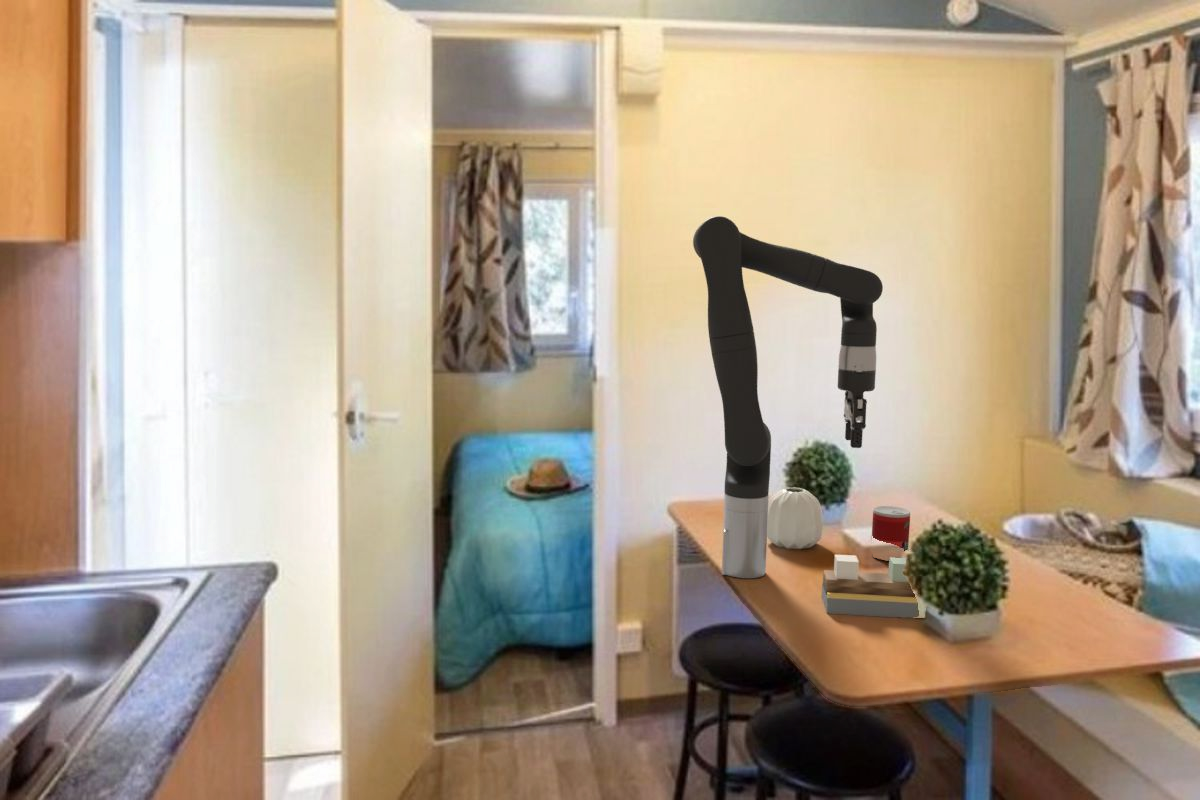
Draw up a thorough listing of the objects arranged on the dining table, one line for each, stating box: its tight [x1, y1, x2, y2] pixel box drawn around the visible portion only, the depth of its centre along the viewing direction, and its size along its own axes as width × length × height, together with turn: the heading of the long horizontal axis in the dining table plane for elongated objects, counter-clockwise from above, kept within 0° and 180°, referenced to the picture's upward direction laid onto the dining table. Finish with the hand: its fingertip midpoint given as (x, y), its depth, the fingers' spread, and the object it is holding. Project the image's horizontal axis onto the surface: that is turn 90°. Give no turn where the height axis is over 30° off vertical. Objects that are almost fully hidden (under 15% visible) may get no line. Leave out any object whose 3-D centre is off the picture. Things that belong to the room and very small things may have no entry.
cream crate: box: [833, 554, 860, 580], centre depth 171 cm, size 4×4×4 cm
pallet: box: [822, 569, 915, 597], centre depth 171 cm, size 18×6×3 cm, turn 82°
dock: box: [821, 581, 919, 619], centre depth 171 cm, size 18×9×4 cm, turn 82°
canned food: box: [871, 505, 911, 551], centre depth 202 cm, size 8×8×11 cm
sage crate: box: [887, 557, 908, 582], centre depth 170 cm, size 4×4×4 cm
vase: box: [767, 486, 824, 550], centre depth 211 cm, size 14×14×13 cm
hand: (853, 443), depth 189 cm, fingers open, 8 cm apart
